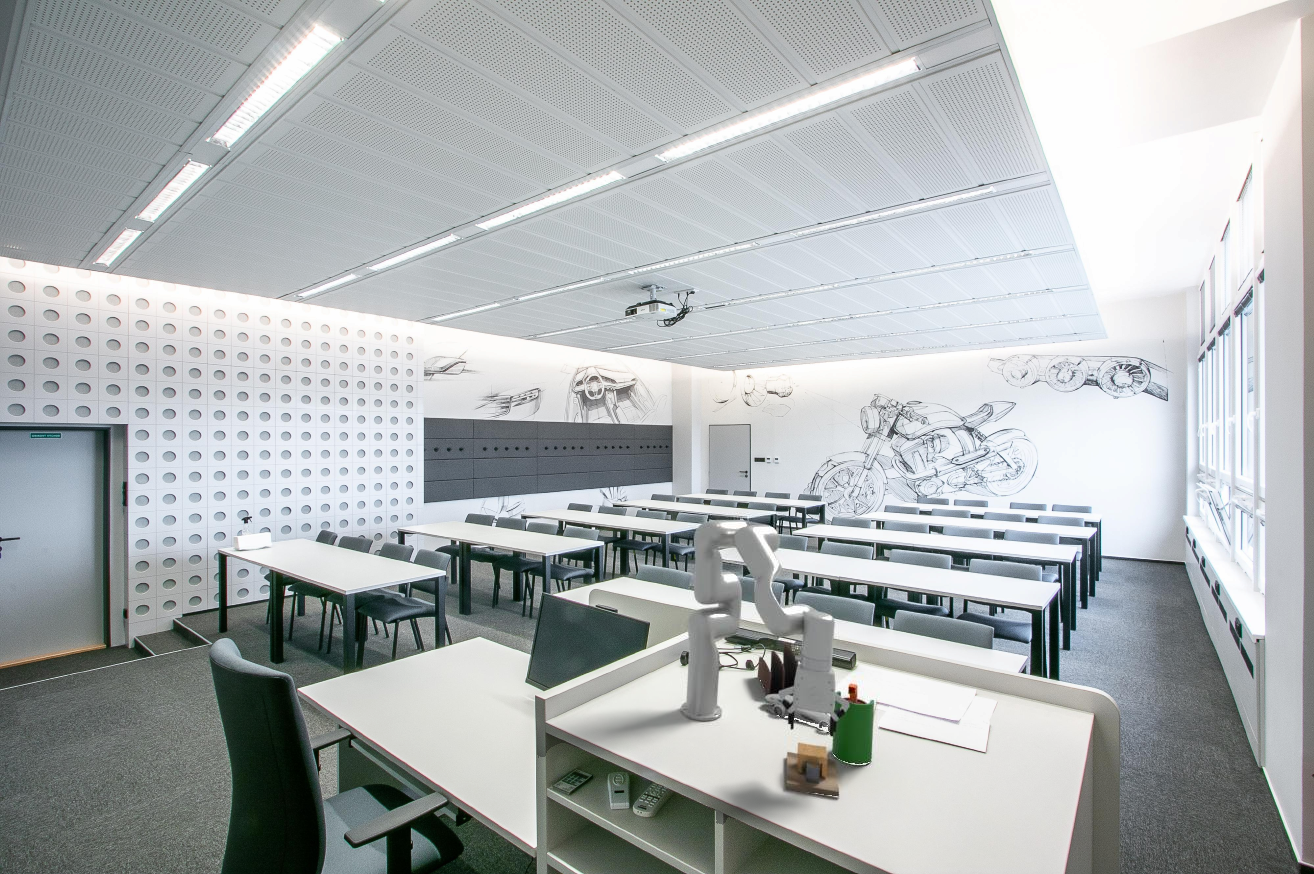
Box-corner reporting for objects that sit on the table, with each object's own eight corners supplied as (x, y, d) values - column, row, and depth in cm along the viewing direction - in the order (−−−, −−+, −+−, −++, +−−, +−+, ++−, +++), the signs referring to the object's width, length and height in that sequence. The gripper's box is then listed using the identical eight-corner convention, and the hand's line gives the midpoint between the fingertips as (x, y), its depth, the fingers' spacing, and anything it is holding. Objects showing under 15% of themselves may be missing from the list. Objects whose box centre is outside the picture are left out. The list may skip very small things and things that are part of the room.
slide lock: (797, 760, 153) (797, 742, 153) (825, 764, 152) (826, 746, 152) (797, 771, 147) (798, 753, 148) (826, 776, 146) (827, 758, 146)
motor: (871, 754, 163) (874, 680, 164) (871, 769, 155) (875, 691, 155) (832, 746, 167) (836, 673, 167) (831, 760, 158) (834, 684, 159)
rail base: (787, 757, 159) (787, 751, 159) (833, 764, 156) (834, 759, 156) (786, 789, 143) (786, 782, 143) (838, 798, 140) (839, 791, 140)
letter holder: (784, 678, 217) (786, 639, 218) (798, 701, 198) (800, 658, 198) (757, 677, 217) (759, 638, 218) (768, 699, 197) (770, 656, 198)
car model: (831, 736, 173) (832, 719, 173) (757, 710, 189) (758, 694, 189) (845, 724, 182) (846, 708, 182) (774, 700, 197) (775, 685, 197)
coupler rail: (804, 758, 156) (805, 744, 156) (816, 759, 155) (817, 746, 155) (806, 781, 144) (806, 767, 144) (818, 784, 143) (819, 769, 143)
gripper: (781, 662, 149) (776, 731, 149) (853, 673, 145) (848, 743, 145) (781, 652, 156) (776, 718, 156) (850, 662, 152) (845, 730, 152)
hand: (811, 730), depth 150 cm, fingers open, 9 cm apart
